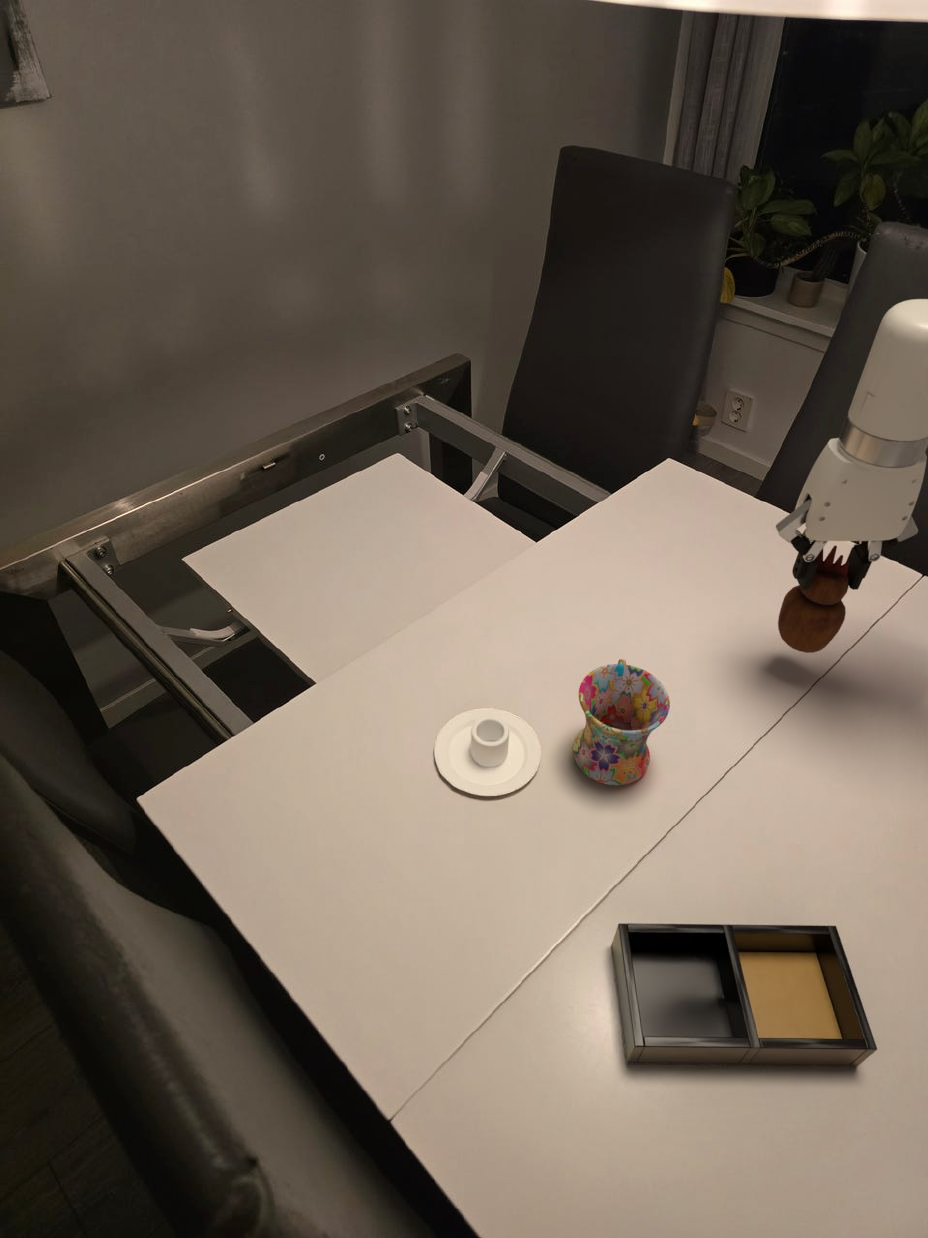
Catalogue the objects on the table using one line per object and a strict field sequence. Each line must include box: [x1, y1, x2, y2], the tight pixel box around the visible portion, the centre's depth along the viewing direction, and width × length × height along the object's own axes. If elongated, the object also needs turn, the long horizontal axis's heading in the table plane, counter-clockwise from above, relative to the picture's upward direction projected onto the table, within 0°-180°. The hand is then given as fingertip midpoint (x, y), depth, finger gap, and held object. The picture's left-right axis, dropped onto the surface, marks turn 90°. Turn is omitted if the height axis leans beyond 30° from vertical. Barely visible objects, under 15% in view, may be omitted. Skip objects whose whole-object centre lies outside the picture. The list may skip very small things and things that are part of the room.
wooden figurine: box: [777, 545, 849, 654], centre depth 89 cm, size 7×6×15 cm
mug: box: [572, 658, 671, 786], centre depth 85 cm, size 12×9×11 cm
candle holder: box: [433, 707, 542, 797], centre depth 87 cm, size 12×12×4 cm
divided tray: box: [610, 922, 878, 1068], centre depth 68 cm, size 19×10×5 cm, turn 89°
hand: (825, 580), depth 87 cm, fingers closed on wooden figurine, 4 cm apart
